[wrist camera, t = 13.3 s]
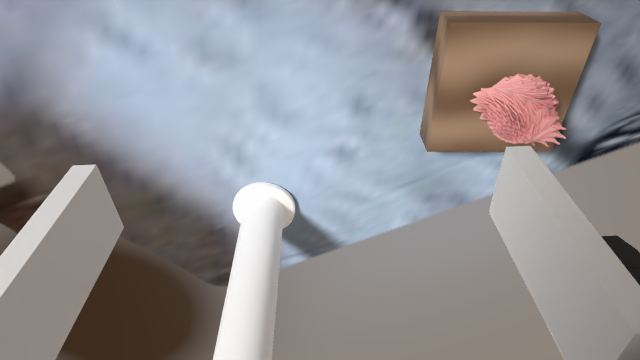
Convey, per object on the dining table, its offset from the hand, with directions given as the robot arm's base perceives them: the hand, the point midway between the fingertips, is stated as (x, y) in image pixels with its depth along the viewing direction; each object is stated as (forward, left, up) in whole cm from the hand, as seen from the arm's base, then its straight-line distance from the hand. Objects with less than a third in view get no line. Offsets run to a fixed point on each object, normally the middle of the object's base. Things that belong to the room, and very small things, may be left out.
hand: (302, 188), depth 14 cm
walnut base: (+7, +17, -27) cm, 33 cm away
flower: (+7, +17, -23) cm, 30 cm away
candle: (+22, -5, -26) cm, 35 cm away
